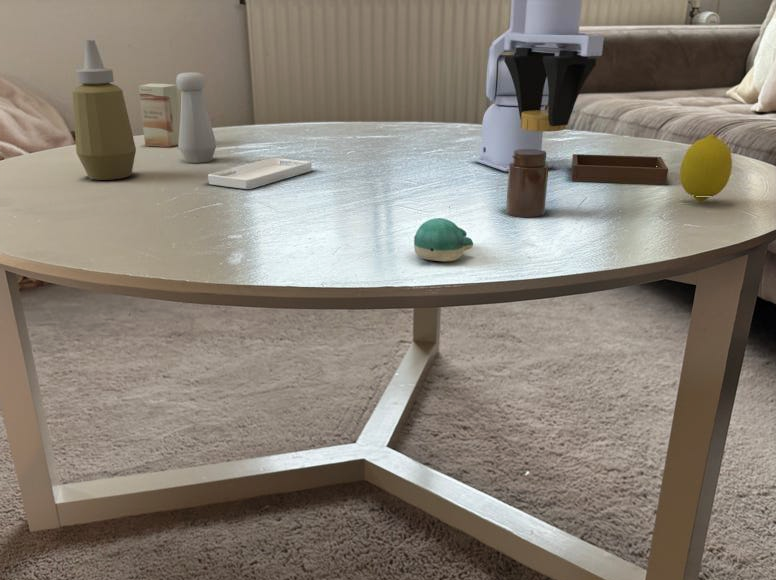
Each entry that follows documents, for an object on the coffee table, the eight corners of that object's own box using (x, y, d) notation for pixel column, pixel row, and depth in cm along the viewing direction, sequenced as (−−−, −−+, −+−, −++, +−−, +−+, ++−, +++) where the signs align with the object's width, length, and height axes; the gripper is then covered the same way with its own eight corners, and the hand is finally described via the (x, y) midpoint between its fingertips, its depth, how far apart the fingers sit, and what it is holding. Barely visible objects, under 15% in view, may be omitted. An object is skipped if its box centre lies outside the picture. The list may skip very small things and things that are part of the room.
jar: (497, 211, 88) (501, 151, 85) (523, 206, 91) (528, 147, 88) (526, 219, 85) (531, 156, 82) (552, 213, 87) (558, 152, 84)
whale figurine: (401, 261, 71) (401, 221, 70) (427, 241, 77) (428, 203, 76) (460, 268, 69) (462, 227, 67) (482, 247, 75) (485, 209, 74)
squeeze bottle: (122, 183, 104) (102, 41, 96) (69, 181, 105) (44, 41, 98) (149, 172, 111) (132, 39, 104) (99, 170, 113) (78, 39, 105)
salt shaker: (221, 157, 122) (214, 71, 116) (211, 164, 117) (203, 74, 111) (186, 157, 123) (177, 71, 117) (174, 163, 117) (164, 74, 112)
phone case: (249, 190, 100) (313, 170, 111) (248, 179, 99) (313, 161, 111) (206, 184, 103) (273, 166, 115) (205, 174, 103) (273, 157, 114)
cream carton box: (144, 146, 133) (136, 85, 128) (157, 142, 136) (150, 83, 132) (170, 147, 131) (163, 86, 127) (183, 143, 135) (177, 83, 131)
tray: (571, 181, 104) (573, 165, 103) (571, 168, 112) (573, 154, 111) (665, 185, 101) (668, 169, 100) (658, 171, 109) (661, 156, 108)
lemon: (694, 209, 88) (707, 139, 85) (665, 199, 93) (676, 132, 90) (734, 206, 90) (748, 136, 86) (704, 196, 95) (716, 130, 91)
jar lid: (550, 124, 89) (551, 109, 88) (573, 130, 84) (575, 114, 84) (512, 126, 87) (513, 111, 87) (534, 132, 83) (535, 116, 82)
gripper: (633, -14, 75) (615, 127, 81) (543, -11, 87) (533, 112, 93) (577, -14, 73) (562, 132, 79) (492, -11, 85) (485, 116, 90)
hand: (543, 122), depth 86 cm, fingers closed on jar lid, 5 cm apart
